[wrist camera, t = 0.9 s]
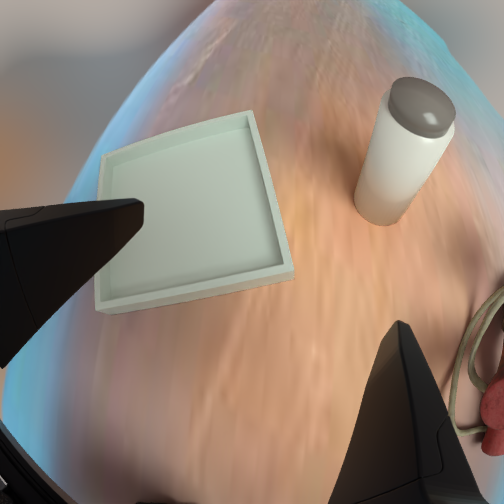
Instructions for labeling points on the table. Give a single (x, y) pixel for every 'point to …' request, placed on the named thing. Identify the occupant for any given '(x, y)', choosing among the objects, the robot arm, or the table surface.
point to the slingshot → (483, 383)
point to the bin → (193, 217)
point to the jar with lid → (403, 148)
